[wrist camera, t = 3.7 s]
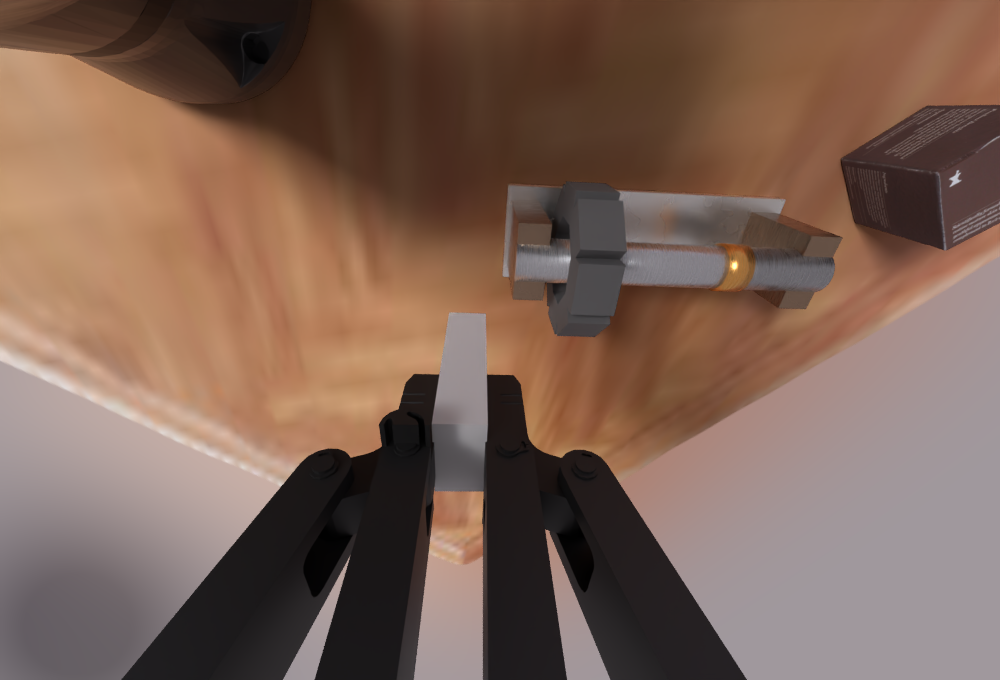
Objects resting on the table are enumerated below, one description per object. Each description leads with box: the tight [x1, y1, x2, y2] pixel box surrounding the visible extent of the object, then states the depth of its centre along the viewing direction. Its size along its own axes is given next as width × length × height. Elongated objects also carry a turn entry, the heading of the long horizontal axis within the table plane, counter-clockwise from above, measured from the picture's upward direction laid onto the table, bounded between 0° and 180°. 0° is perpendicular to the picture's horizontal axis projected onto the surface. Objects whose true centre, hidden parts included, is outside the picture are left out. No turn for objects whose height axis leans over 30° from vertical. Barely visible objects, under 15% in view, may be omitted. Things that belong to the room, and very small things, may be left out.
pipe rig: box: [502, 183, 842, 309], centre depth 28 cm, size 21×7×8 cm, turn 87°
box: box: [841, 105, 1000, 250], centre depth 26 cm, size 6×6×7 cm
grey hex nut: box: [547, 181, 627, 337], centre depth 25 cm, size 2×9×9 cm, turn 177°
